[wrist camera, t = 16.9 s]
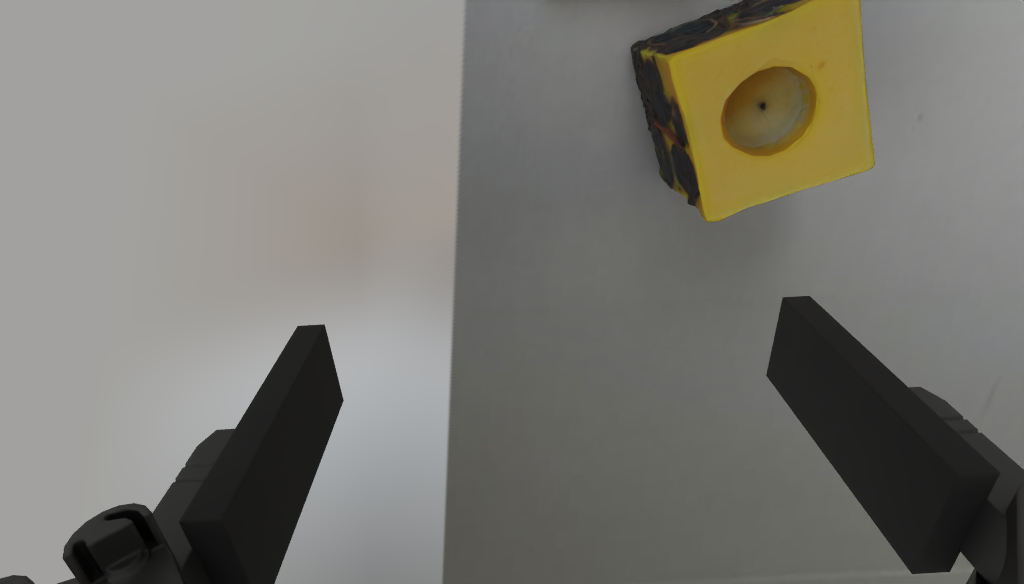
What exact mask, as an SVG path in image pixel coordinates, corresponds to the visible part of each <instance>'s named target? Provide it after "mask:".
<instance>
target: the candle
mask: <svg viewBox="0 0 1024 584" xmlns="http://www.w3.org/2000/svg"><path fill="white" fill-rule="evenodd" d="M631 53H632V59H633V65H634V69H635V72H636V81H637V84H638V87H639V90H640V91H641V92H642V93H641V99H642V101H643V106H644V108H645V113H646V119H647V122H648V125H649V128H648V130H650V131H651V133H652V138H653V141H654V144H655V150H656V154H657V158H658V161H659V164H660V173H659V174H660V176H661V177H662V179H663V180H664V181H665V182H667V184H668V185H669V187H670V188H672V189H674V190H675V191H677V192H679V193H680V194H682V195H684V196H685V197H686V198H687V199H688V204H690V205H693V206H696V207H697V208H698V209H699V211H700V213H701V215H702V217H703V218H704V219H705V221H706V222H717V221H720V220H722V219H724V218H726V217H729V216H731V215H733V214H735V213H738V212H740V211H742V210H744V209H746V208H748V207H751V206H755V205H758V204H762V203H766V202H769V201H772V200H774V199H777V198H780V197H783V196H786V195H789V194H792V193H795V192H798V191H801V190H804V189H807V188H811V187H814V186H818V185H821V184H824V183H828V182H831V181H835V180H838V179H841V178H844V177H848V176H851V175H854V174H858V173H861V172H864V171H867V170H869V169H871V168H872V167H873V166H874V165H875V161H874V149H873V142H872V134H871V123H870V114H869V107H868V99H867V89H866V79H865V67H864V55H863V42H862V27H861V4H860V0H743V1H741V2H740V3H738V4H734V5H733V6H731V7H728V8H725V9H723V10H716V11H714V12H712V13H710V14H708V15H705V16H703V17H701V18H699V19H698V20H695V21H692V22H688V23H685V24H682V25H680V26H677V27H674V28H671V29H669V30H668V31H667V32H665V33H664V34H661V35H658V36H654V37H651V38H649V39H647V40H644V41H637V42H636V43H635V44H634V45H632V47H631Z"/></svg>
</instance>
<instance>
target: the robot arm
mask: <svg viewBox="0 0 1024 584" xmlns="http://www.w3.org/2000/svg"><path fill="white" fill-rule="evenodd" d="M766 376H767V377H768V378H769V380H770V381H771V382H772V384H773V385H774V386H775V388H776V389H777V391H778V392H779V393H780V395H781V396H782V397H783V399H784V400H785V401H786V403H787V404H788V406H789V407H790V408H791V410H792V411H793V412H794V414H795V415H796V416H797V418H798V419H799V421H800V422H801V423H802V425H803V426H804V427H805V429H806V430H807V431H808V433H809V434H810V436H811V437H812V438H813V440H814V441H815V442H816V444H817V445H818V446H819V448H820V449H821V451H822V452H823V453H824V455H825V456H826V457H827V459H828V460H829V461H830V463H831V464H832V466H833V467H834V468H835V470H836V471H837V472H838V474H839V475H840V476H841V478H842V479H843V481H844V482H845V483H846V485H847V486H848V487H849V489H850V490H851V491H852V493H853V494H854V496H855V497H856V498H857V500H858V501H859V502H860V504H861V505H862V506H863V508H864V509H865V511H866V512H867V513H868V515H869V516H870V517H871V519H872V520H873V521H874V523H875V524H876V526H877V527H878V528H879V530H880V531H881V532H882V534H883V535H884V536H885V538H886V539H887V541H888V542H889V543H890V545H891V546H892V547H893V549H894V550H895V551H896V553H897V554H898V556H899V557H900V558H901V560H902V561H903V562H904V564H905V565H906V566H907V568H908V569H909V571H910V572H911V573H912V574H920V573H937V572H950V570H951V568H952V566H953V565H954V563H955V561H956V559H957V557H958V555H959V553H960V551H961V552H962V554H963V555H964V556H965V557H966V558H967V560H968V561H969V562H970V563H971V564H972V565H973V567H974V570H973V572H972V574H971V576H970V577H969V579H968V581H967V583H966V584H1024V470H1023V469H1022V468H1021V467H1020V466H1019V465H1017V464H1016V463H1015V462H1014V461H1013V460H1012V459H1011V458H1010V457H1008V456H1007V455H1006V454H1005V453H1004V452H1003V451H1002V450H1000V449H999V448H998V447H997V446H996V445H995V444H994V443H992V442H991V441H990V440H989V439H988V438H987V437H986V436H985V435H983V434H982V433H978V429H977V428H975V427H974V426H973V425H972V424H971V423H970V422H969V421H967V420H964V419H963V416H962V415H961V414H960V413H958V412H957V411H956V410H955V409H954V408H953V407H952V406H950V405H949V404H948V403H947V402H946V401H945V400H943V399H941V398H939V397H938V396H936V395H934V394H932V393H930V392H928V391H927V390H925V389H923V388H921V387H911V388H908V387H907V386H906V385H905V384H904V383H903V382H902V381H901V380H900V379H899V378H898V377H896V376H895V375H894V374H893V373H892V372H891V371H890V370H889V369H888V368H887V367H886V366H885V365H883V364H882V363H881V362H880V361H879V360H878V359H877V358H876V357H875V356H874V355H873V354H872V353H871V352H869V351H868V350H867V349H866V348H865V347H864V346H863V345H862V344H861V343H860V342H859V341H858V340H856V339H855V338H854V337H853V336H852V335H851V334H850V333H849V332H848V331H847V330H846V329H845V328H844V327H842V326H841V325H840V324H839V323H838V322H837V321H836V320H835V319H834V318H833V317H832V316H831V315H829V314H828V313H827V312H826V311H825V310H824V309H823V308H822V307H821V306H820V305H819V304H818V303H817V302H815V301H814V300H813V299H812V298H811V297H810V296H801V297H784V298H783V299H782V304H781V308H780V313H779V318H778V323H777V328H776V332H775V337H774V342H773V347H772V351H771V356H770V361H769V366H768V370H767V375H766ZM342 403H343V397H342V393H341V389H340V385H339V381H338V377H337V373H336V368H335V365H334V360H333V356H332V352H331V348H330V345H329V341H328V336H327V332H326V329H325V325H308V326H298V327H297V328H296V330H295V331H294V333H293V335H292V336H291V338H290V340H289V341H288V343H287V345H286V346H285V348H284V350H283V351H282V353H281V355H280V356H279V358H278V360H277V361H276V363H275V364H274V366H273V368H272V369H271V371H270V373H269V374H268V376H267V378H266V379H265V381H264V383H263V384H262V386H261V387H260V389H259V391H258V392H257V394H256V396H255V397H254V399H253V401H252V402H251V404H250V405H249V407H248V409H247V410H246V412H245V414H244V415H243V417H242V419H241V420H240V422H239V424H238V425H237V427H236V429H225V430H216V431H215V432H214V433H212V434H211V435H210V436H209V437H208V438H206V439H205V440H204V441H203V442H202V443H200V444H199V445H198V446H197V447H196V449H195V450H194V452H193V453H192V455H191V457H190V458H189V459H188V461H187V462H186V466H185V467H184V468H182V470H181V471H180V473H179V475H178V476H177V477H176V481H175V482H174V483H172V485H171V486H170V488H169V489H168V491H167V492H166V494H165V495H164V497H163V498H162V500H161V501H160V503H159V504H158V506H157V507H156V509H155V510H154V512H153V513H152V512H151V511H150V510H149V509H148V508H147V507H146V506H144V505H140V504H135V503H133V504H126V505H119V506H117V507H114V508H111V509H109V510H106V511H104V512H102V513H100V514H98V515H97V516H95V517H93V518H92V519H90V520H89V521H87V522H86V523H85V524H83V525H82V526H81V527H80V528H79V529H78V530H77V531H76V532H75V533H74V534H73V535H72V536H71V538H70V539H69V541H68V542H67V544H66V545H65V547H64V553H63V560H64V561H65V563H66V564H67V566H68V567H69V568H70V570H71V571H72V573H73V574H74V576H75V577H76V578H73V579H70V580H67V581H64V582H61V583H58V584H274V583H275V580H276V578H277V575H278V572H279V570H280V567H281V564H282V561H283V559H284V556H285V554H286V551H287V549H288V546H289V543H290V541H291V538H292V535H293V533H294V530H295V527H296V524H297V522H298V519H299V517H300V514H301V512H302V509H303V506H304V504H305V501H306V498H307V496H308V493H309V490H310V488H311V485H312V482H313V480H314V477H315V474H316V472H317V469H318V467H319V464H320V461H321V459H322V456H323V453H324V451H325V448H326V445H327V443H328V440H329V437H330V435H331V432H332V430H333V427H334V424H335V422H336V419H337V416H338V414H339V411H340V408H341V406H342ZM0 584H34V582H33V581H31V580H30V579H29V578H28V577H27V576H16V575H12V576H9V577H5V578H1V579H0Z"/></svg>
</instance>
